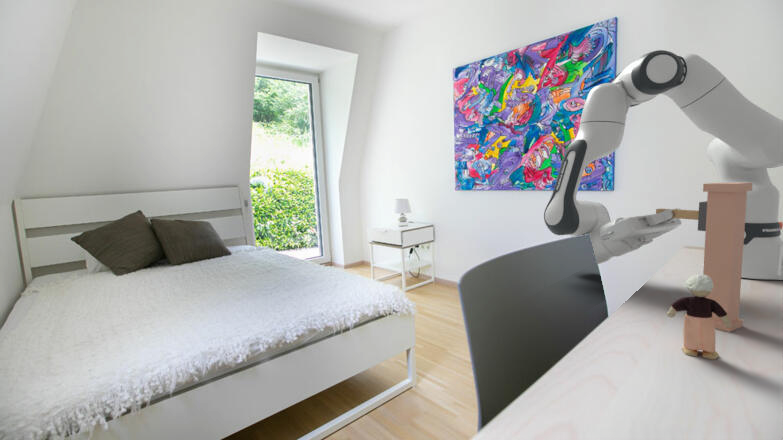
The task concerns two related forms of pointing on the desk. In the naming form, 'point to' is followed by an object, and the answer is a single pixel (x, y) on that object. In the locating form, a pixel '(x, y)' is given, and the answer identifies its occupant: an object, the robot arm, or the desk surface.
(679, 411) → the desk surface
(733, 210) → the stand
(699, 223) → the mallet
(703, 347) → the grandmother figurine
